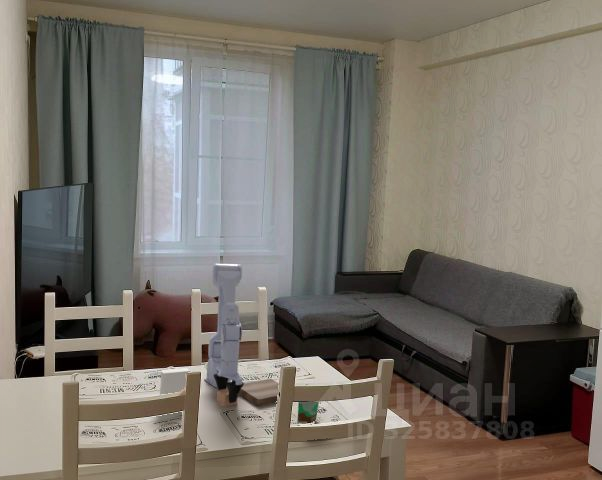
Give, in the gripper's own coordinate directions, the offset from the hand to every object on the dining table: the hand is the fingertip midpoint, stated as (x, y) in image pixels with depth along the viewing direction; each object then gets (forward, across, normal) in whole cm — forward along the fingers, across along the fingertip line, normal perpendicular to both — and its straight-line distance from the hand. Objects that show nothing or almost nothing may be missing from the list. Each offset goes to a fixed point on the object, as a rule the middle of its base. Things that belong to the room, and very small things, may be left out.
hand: (227, 398), depth 204 cm
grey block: (+2, -5, -17) cm, 18 cm away
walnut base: (+1, 0, +15) cm, 15 cm away
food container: (+2, +25, +16) cm, 30 cm away
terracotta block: (+2, 0, 0) cm, 2 cm away
